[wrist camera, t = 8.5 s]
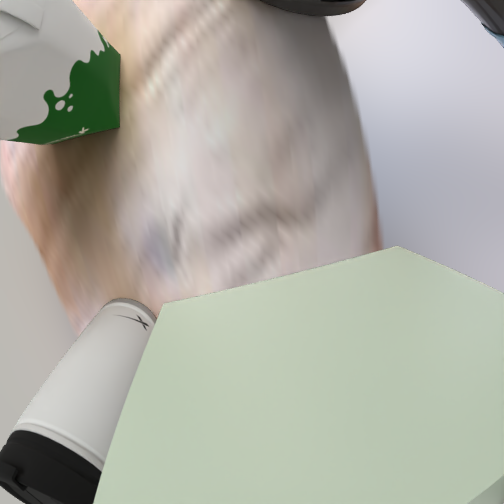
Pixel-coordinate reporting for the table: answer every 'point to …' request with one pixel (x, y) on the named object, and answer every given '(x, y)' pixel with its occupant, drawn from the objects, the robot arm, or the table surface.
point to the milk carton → (54, 73)
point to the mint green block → (320, 392)
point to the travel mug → (77, 411)
